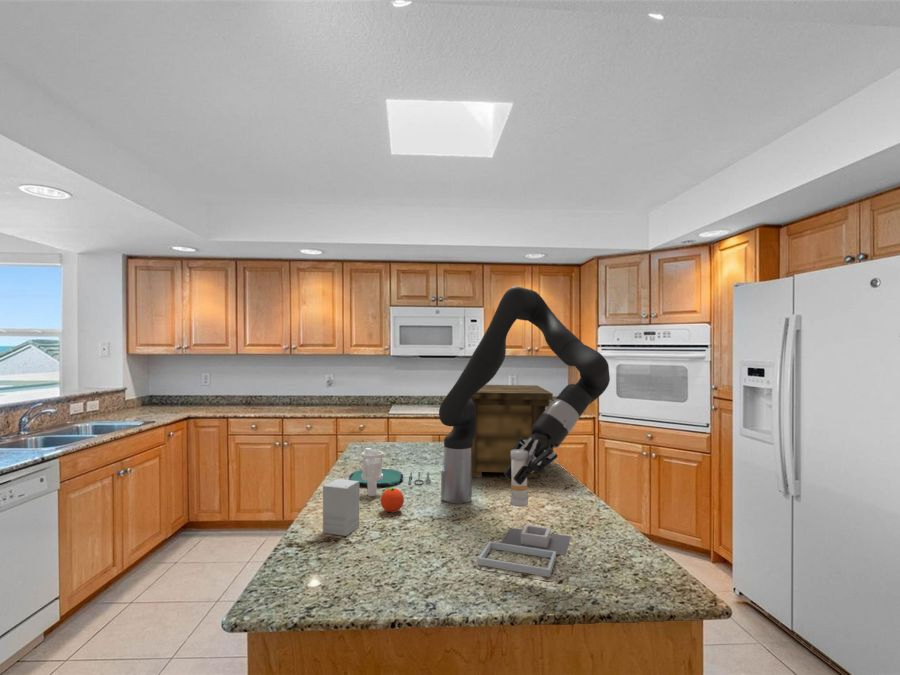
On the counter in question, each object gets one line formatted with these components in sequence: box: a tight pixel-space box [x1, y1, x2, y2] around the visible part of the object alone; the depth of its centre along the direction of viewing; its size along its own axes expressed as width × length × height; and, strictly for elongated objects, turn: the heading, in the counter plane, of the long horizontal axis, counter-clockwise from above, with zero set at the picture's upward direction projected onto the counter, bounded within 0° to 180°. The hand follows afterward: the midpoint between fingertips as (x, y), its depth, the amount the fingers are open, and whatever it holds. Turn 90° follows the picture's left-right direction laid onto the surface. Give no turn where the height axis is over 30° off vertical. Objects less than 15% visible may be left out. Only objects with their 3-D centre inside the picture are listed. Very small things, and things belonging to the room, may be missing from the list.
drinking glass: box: [361, 447, 384, 497], centre depth 162 cm, size 7×7×15 cm
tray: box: [477, 541, 557, 583], centre depth 111 cm, size 16×10×3 cm, turn 70°
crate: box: [471, 384, 554, 479], centre depth 197 cm, size 35×35×33 cm
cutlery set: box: [348, 468, 432, 487], centre depth 179 cm, size 20×30×2 cm, turn 92°
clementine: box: [380, 487, 405, 513], centre depth 146 cm, size 8×7×7 cm
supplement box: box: [322, 478, 360, 537], centre depth 131 cm, size 7×7×13 cm
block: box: [500, 524, 572, 556], centre depth 122 cm, size 16×12×4 cm
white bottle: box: [509, 449, 529, 508], centre depth 111 cm, size 4×4×12 cm
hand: (511, 479), depth 110 cm, fingers closed on white bottle, 3 cm apart
